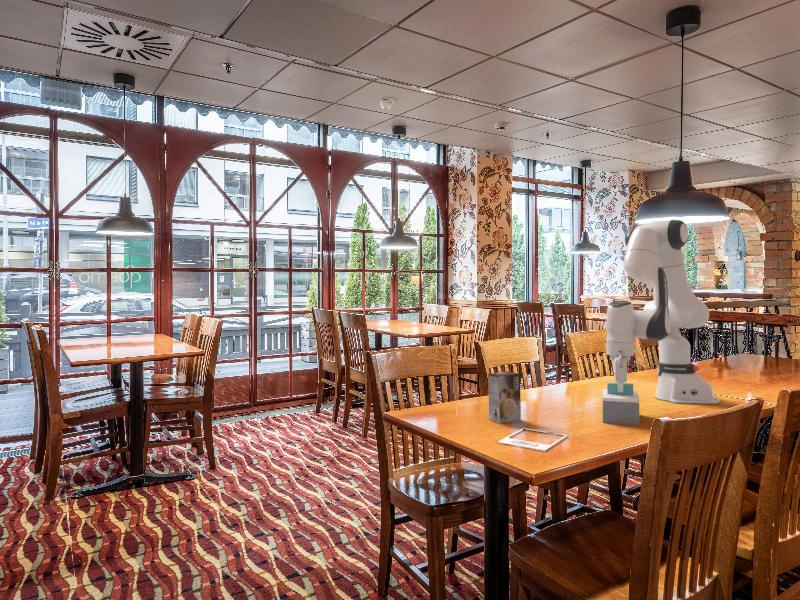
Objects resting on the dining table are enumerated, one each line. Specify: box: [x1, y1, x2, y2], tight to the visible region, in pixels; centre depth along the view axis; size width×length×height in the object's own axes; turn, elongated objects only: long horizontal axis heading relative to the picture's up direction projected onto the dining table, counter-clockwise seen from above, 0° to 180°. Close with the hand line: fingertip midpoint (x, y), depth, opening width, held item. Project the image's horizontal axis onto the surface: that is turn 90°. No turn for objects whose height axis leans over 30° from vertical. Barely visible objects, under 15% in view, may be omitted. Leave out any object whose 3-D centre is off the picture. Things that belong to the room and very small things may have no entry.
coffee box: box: [487, 371, 522, 424], centre depth 190 cm, size 9×6×16 cm
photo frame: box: [497, 427, 569, 452], centre depth 166 cm, size 15×1×18 cm
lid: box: [602, 382, 640, 404], centre depth 186 cm, size 11×15×6 cm
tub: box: [602, 400, 640, 426], centre depth 187 cm, size 11×15×8 cm
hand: (620, 390), depth 186 cm, fingers closed on lid
